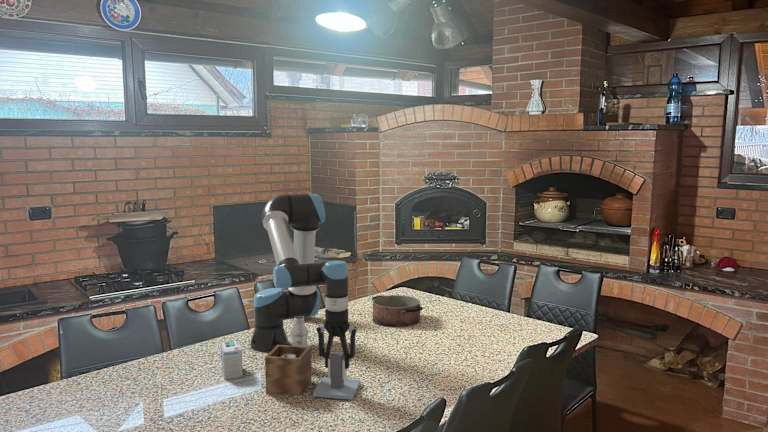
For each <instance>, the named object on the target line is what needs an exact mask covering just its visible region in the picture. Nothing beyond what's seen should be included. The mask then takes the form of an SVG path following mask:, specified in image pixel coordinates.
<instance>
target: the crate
mask: <svg viewBox="0 0 768 432" xmlns="http://www.w3.org/2000/svg"><path fill="white" fill-rule="evenodd" d="M284 354H295V355H296V357H297V358H289V357H281V356H282V355H284ZM264 364H265V365H264V371H265V372H264V373H265V394H266V395H281V396H282V395H283V396H302V395H303V394H304V393H305V391H306V389H307V388H308V387H309V385H310V384H311V382H312V346H307V347H306V346H292V345H277V346H276V347H275V348H274V349H273V350H272V351H270V352H268V354H266V356H265V357H264Z"/></svg>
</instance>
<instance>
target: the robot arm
mask: <svg viewBox="0 0 768 432" xmlns="http://www.w3.org/2000/svg"><path fill="white" fill-rule="evenodd" d="M325 210H326V209H325V205H324V201H323V199H322V197H321V196H320V195H319V194H318V193H309V192H307V193H297V194H296V193H292V194H286V193H284V194H279V195H276V196H274V197H273V198H271V199H269V200H268V202H266V204H265V206H264V208H263V210H262V215H261V222H262V225H263V228H264V230H266V231H267V233H268V237H269V241H270V244H271V249H272V252H273V256H274V260H275V263H276V265H275V266H274V267H273V269H272V278H273V284H274V287H270V288H265V289H261V290H260V291H258V292H257V293H255V294H254V296H253V308H254V309H253V310H254V311H253V313H254V315H253V316H254V317H253V318H254V319H253V320H254V330H253V333H252V336H251V338H250V349H252V350H253V351H257V352H265V353H267V352H268V353H270V352H271V351H272V350H273V349H274V348H275V347H276V346H277V345H288V344H289V340H288V336H287V333H286V330H285V328H284V321H286V320H293V319H294V317H296V316H303V317H304V318H308V317H311V318H312V317H316V316H317V315H318V314H319V310H320V307H321V293H320V290H319V289H318V288H317V286H324V306H325V310H324V311H325V312H324V315H325V316H324V321H325V322H324V324H323V325H318V326H317V327H316V328H315V329H316V332H317V337H318V353H319V357H322V358H324V367H325V368H326V369H327V377H328V379H330V378H331V354H332V353H331V352H332V347H333V342H334V338H335V337H337V338H338V339H339V341H340V343H341V349H342V353H343V354H344V358H343V360H342V379H343V380H345V379H347V377H348V375H347V370H349V368H350V359H353V358H354V357H355V355H356V334H357V331H358V327H356V326H352V325H351V324H350V323H349V308H348V307H349V273H350V272H349V266H348V263H347V262H346V261H344V260H327V259H325V260H320V261H319V262H315V252H316V249H315V248H316V233H317V231H319V230H320V227H321V226H320V225H321V224H323V223H325V221H326V211H325ZM289 225H290V229H291V230H293V238H292V235H291V232H290V229H289ZM283 289H287V291H284V290H283ZM325 330H326V332H327V333H328V338H327V342H326V348H325V333H324V332H325ZM348 331H349V334H350V337H349V338H350V339H349V340H350V341H349V342H350V343H349V346H348V341H347V335H346V333H347V332H348ZM288 346H289V345H288Z"/></svg>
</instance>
